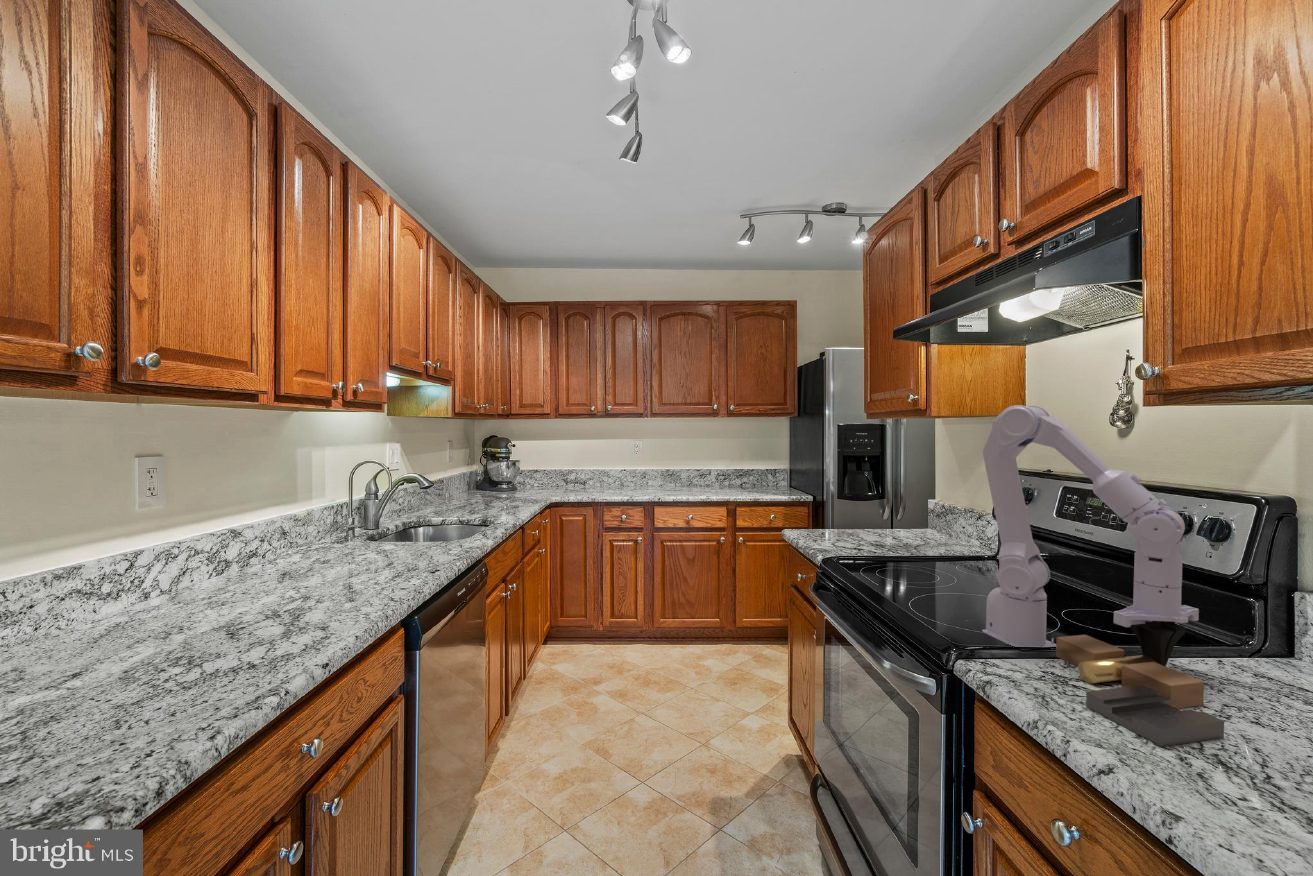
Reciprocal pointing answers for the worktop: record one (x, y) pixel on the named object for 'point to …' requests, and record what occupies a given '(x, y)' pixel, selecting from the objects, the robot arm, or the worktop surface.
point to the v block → (1154, 716)
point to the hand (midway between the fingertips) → (1154, 666)
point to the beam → (1134, 670)
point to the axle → (1108, 668)
